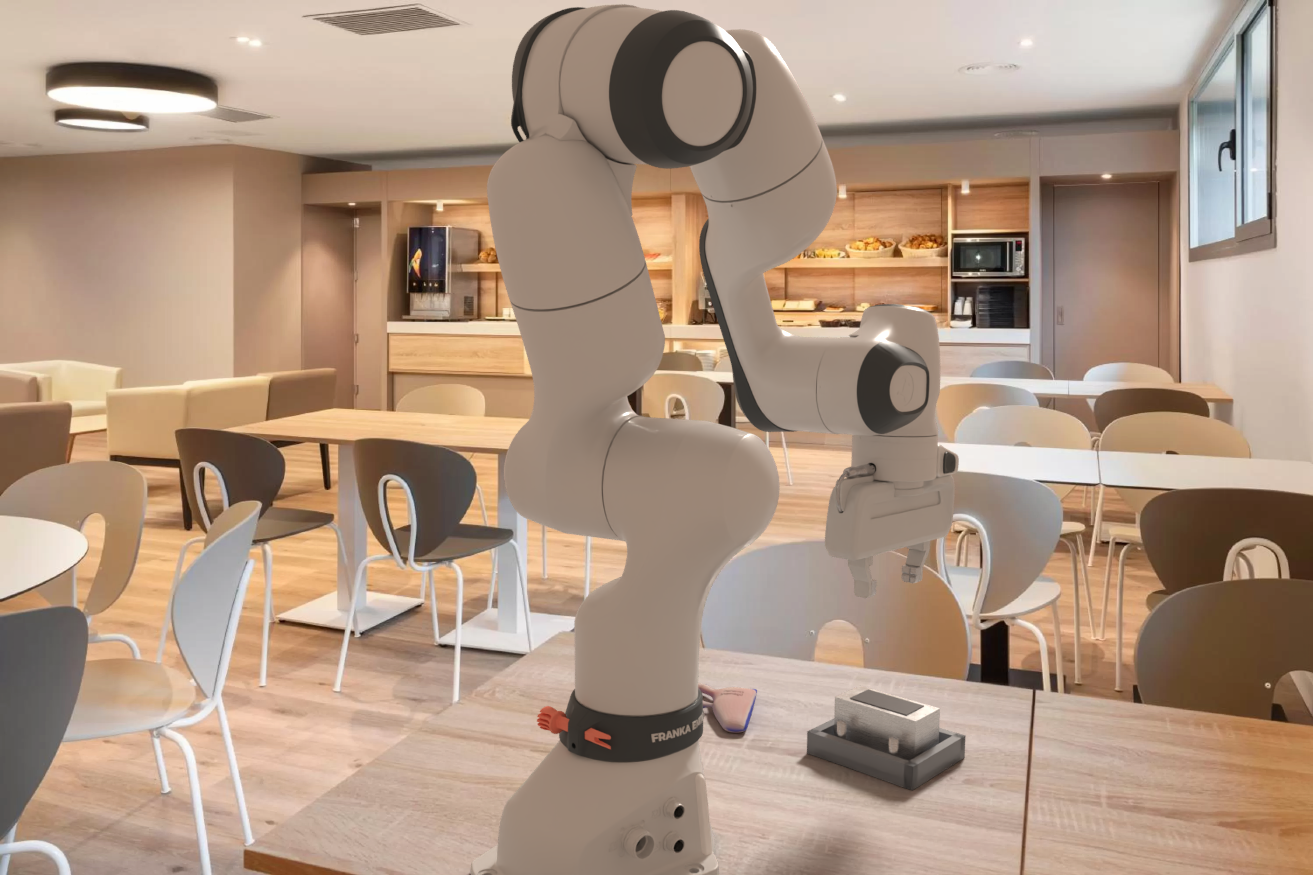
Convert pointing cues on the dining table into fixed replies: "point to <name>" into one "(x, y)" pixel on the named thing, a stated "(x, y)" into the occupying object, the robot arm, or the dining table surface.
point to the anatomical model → (731, 706)
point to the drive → (887, 721)
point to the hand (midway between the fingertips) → (889, 588)
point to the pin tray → (885, 755)
